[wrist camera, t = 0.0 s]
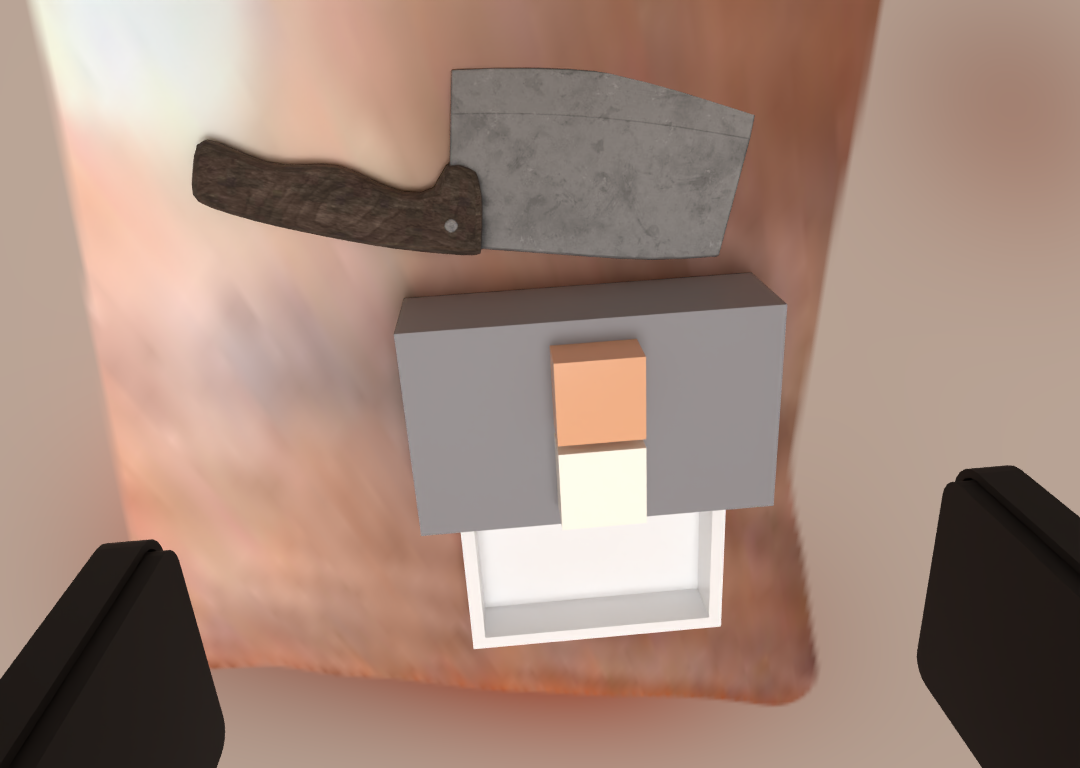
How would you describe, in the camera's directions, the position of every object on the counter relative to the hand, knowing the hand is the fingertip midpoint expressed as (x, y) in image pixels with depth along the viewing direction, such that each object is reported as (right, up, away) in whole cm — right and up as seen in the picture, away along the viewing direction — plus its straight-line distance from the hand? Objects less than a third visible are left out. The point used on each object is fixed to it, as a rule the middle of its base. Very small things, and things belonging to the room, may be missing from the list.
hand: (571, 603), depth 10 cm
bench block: (+2, +3, +39) cm, 39 cm away
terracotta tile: (+2, +3, +33) cm, 33 cm away
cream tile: (+3, -2, +35) cm, 35 cm away
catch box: (+3, -8, +44) cm, 44 cm away
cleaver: (-4, +15, +34) cm, 37 cm away
